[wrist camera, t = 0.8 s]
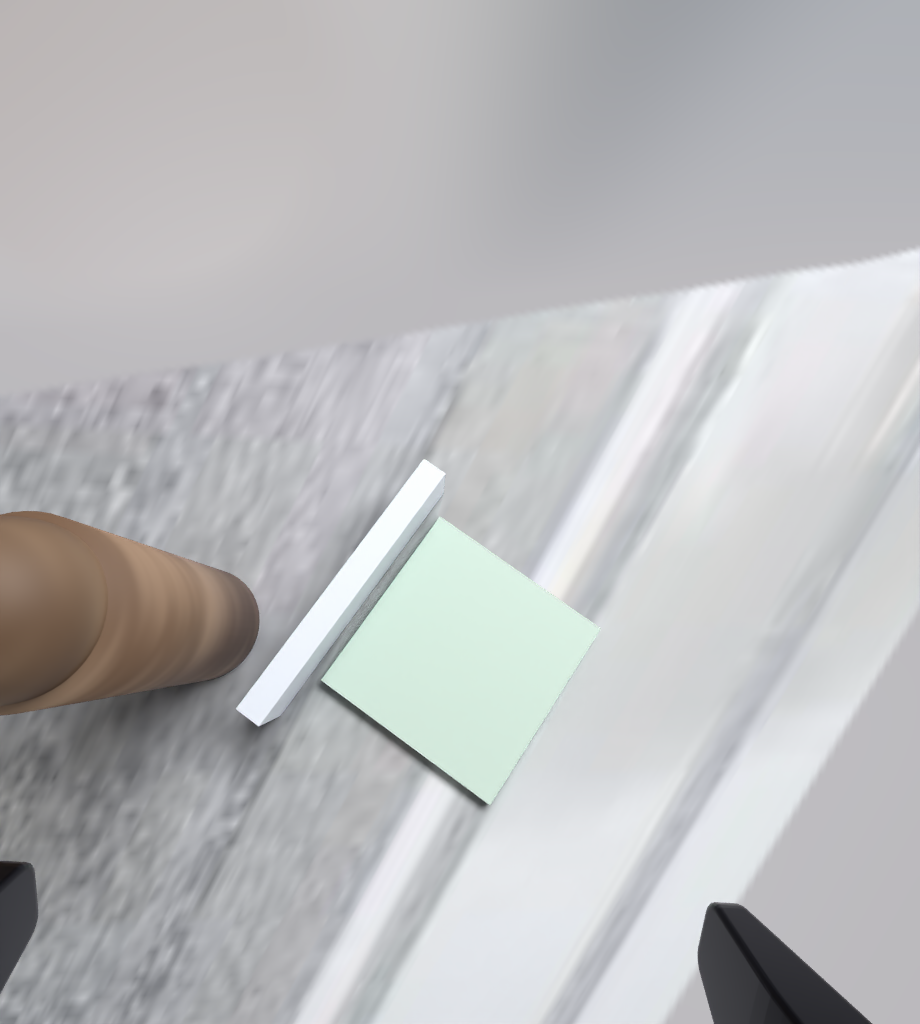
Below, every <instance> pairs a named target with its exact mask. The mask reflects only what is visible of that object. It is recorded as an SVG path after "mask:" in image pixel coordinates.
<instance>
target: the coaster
mask: <svg viewBox="0 0 920 1024" xmlns="http://www.w3.org/2000/svg"><path fill="white" fill-rule="evenodd" d="M600 629H601V628H599V627H598V626H596V625H595V624H593V623H592V622H591V621H589V620H588V619H586V618H585V617H583V616H582V615H581V614H579V613H578V612H576V611H575V610H573V609H572V608H571V607H569V606H568V605H566V604H565V603H563V602H562V601H560V600H559V599H558V598H556V597H555V596H553V595H552V594H550V593H549V592H548V591H546V590H545V589H543V588H542V587H540V586H539V585H538V584H536V583H535V582H533V581H532V580H530V579H529V578H527V577H526V576H525V575H523V574H522V573H520V572H519V571H517V570H516V569H515V568H513V567H512V566H510V565H509V564H507V563H506V562H505V561H503V560H502V559H500V558H499V557H497V556H496V555H494V554H493V553H492V552H490V551H489V550H487V549H486V548H484V547H483V546H482V545H480V544H479V543H477V542H476V541H474V540H473V539H472V538H470V537H469V536H467V535H466V534H464V533H463V532H461V531H460V530H459V529H457V528H456V527H454V526H453V525H451V524H450V523H449V522H447V521H446V520H444V519H443V518H441V517H439V518H438V520H437V521H436V523H435V524H434V525H433V527H432V528H431V529H430V531H429V532H428V534H427V535H426V536H425V538H424V539H423V540H422V542H421V543H420V545H419V546H418V547H417V549H416V550H415V551H414V553H413V554H412V556H411V557H410V558H409V560H408V561H407V562H406V564H405V565H404V567H403V568H402V569H401V571H400V572H399V573H398V575H397V576H396V578H395V579H394V580H393V582H392V583H391V584H390V586H389V587H388V589H387V590H386V591H385V593H384V594H383V595H382V597H381V598H380V600H379V601H378V602H377V604H376V605H375V607H374V608H373V609H372V611H371V612H370V613H369V615H368V616H367V618H366V619H365V620H364V622H363V623H362V624H361V626H360V627H359V629H358V630H357V631H356V633H355V634H354V635H353V637H352V638H351V640H350V641H349V642H348V644H347V645H346V646H345V648H344V649H343V651H342V652H341V653H340V655H339V656H338V657H337V659H336V660H335V662H334V663H333V664H332V666H331V667H330V668H329V670H328V671H327V673H326V674H325V675H324V677H323V678H322V679H321V681H323V682H324V683H325V684H327V685H328V686H330V687H331V688H332V689H334V690H335V691H336V692H338V693H339V694H340V695H342V696H343V697H344V698H346V699H347V700H348V701H350V702H351V703H352V704H354V705H355V706H357V707H358V708H359V709H361V710H362V711H363V712H365V713H366V714H367V715H369V716H370V717H371V718H373V719H374V720H375V721H377V722H378V723H379V724H381V725H382V726H384V727H385V728H386V729H388V730H389V731H390V732H392V733H393V734H394V735H396V736H397V737H398V738H400V739H401V740H402V741H404V742H405V743H406V744H408V745H409V746H411V747H412V748H413V749H415V750H416V751H417V752H419V753H420V754H421V755H423V756H424V757H425V758H427V759H428V760H429V761H431V762H432V763H433V764H435V765H436V766H438V767H439V768H440V769H442V770H443V771H444V772H446V773H447V774H448V775H450V776H451V777H452V778H454V779H455V780H456V781H458V782H459V783H460V784H462V785H463V786H465V787H466V788H467V789H469V790H470V791H471V792H473V793H474V794H475V795H477V796H478V797H479V798H481V799H482V800H483V801H485V802H486V803H487V804H489V805H491V803H492V802H493V800H494V798H495V797H496V795H497V794H498V792H499V790H500V789H501V787H502V786H503V784H504V782H505V781H506V779H507V778H508V776H509V775H510V773H511V771H512V770H513V768H514V767H515V765H516V763H517V762H518V760H519V759H520V757H521V755H522V754H523V752H524V751H525V749H526V747H527V746H528V744H529V743H530V741H531V739H532V738H533V736H534V735H535V733H536V731H537V730H538V728H539V727H540V725H541V724H542V722H543V720H544V719H545V717H546V716H547V714H548V712H549V711H550V709H551V708H552V706H553V704H554V703H555V701H556V700H557V698H558V696H559V695H560V693H561V692H562V690H563V688H564V687H565V685H566V684H567V682H568V680H569V679H570V677H571V676H572V674H573V672H574V671H575V669H576V668H577V666H578V665H579V663H580V661H581V660H582V658H583V657H584V655H585V653H586V652H587V650H588V649H589V647H590V645H591V644H592V642H593V641H594V639H595V637H596V636H597V634H598V633H599V631H600Z"/></svg>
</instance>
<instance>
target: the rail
mask: <svg viewBox="0 0 920 1024" xmlns="http://www.w3.org/2000/svg"><path fill="white" fill-rule="evenodd" d="M444 485H445V473H444V472H442V471H441V470H439V469H438V468H437V467H435V466H434V465H432V464H431V463H429V462H428V461H426V460H425V459H424V460H423V461H422V462H421V464H420V465H419V466H418V467H417V469H416V470H415V471H414V473H413V474H412V475H411V477H410V478H409V479H408V481H407V482H406V483H405V485H404V486H403V487H402V489H401V490H400V491H399V493H398V494H397V495H396V497H395V498H394V499H393V501H392V502H391V503H390V505H389V506H388V507H387V509H386V510H385V511H384V513H383V514H382V515H381V517H380V518H379V519H378V521H377V522H376V523H375V525H374V526H373V527H372V529H371V530H370V531H369V533H368V534H367V535H366V537H365V538H364V539H363V541H362V542H361V543H360V545H359V546H358V547H357V549H356V550H355V551H354V553H353V554H352V555H351V557H350V558H349V559H348V561H347V562H346V563H345V564H344V566H343V567H342V568H341V570H340V571H339V572H338V574H337V575H336V576H335V578H334V579H333V580H332V582H331V583H330V584H329V586H328V587H327V588H326V590H325V591H324V592H323V594H322V595H321V596H320V598H319V599H318V600H317V602H316V603H315V604H314V606H313V607H312V608H311V610H310V611H309V612H308V614H307V615H306V616H305V618H304V619H303V620H302V622H301V623H300V624H299V626H298V627H297V628H296V630H295V631H294V632H293V634H292V635H291V636H290V638H289V639H288V640H287V642H286V643H285V644H284V646H283V647H282V648H281V650H280V651H279V652H278V654H277V655H276V656H275V658H274V659H273V660H272V661H271V663H270V664H269V665H268V667H267V668H266V669H265V671H264V672H263V673H262V675H261V676H260V677H259V679H258V680H257V681H256V683H255V684H254V685H253V687H252V688H251V689H250V691H249V692H248V693H247V695H246V696H245V697H244V699H243V700H242V701H241V703H240V704H239V705H238V707H237V708H236V710H238V711H239V712H240V713H242V714H243V715H244V716H246V717H247V718H248V719H250V720H251V721H252V722H254V723H255V724H256V725H257V726H261V725H263V724H265V723H267V722H269V721H271V720H273V719H275V718H277V717H279V716H281V715H282V713H283V712H284V711H285V709H286V708H287V706H288V705H289V704H290V702H291V701H292V700H293V698H294V697H295V696H296V694H297V693H298V691H299V690H300V689H301V687H302V686H303V685H304V683H305V682H306V681H307V679H308V678H309V676H310V675H311V674H312V672H313V671H314V670H315V668H316V667H317V666H318V664H319V663H320V661H321V660H322V659H323V657H324V656H325V655H326V653H327V652H328V650H329V649H330V648H331V646H332V645H333V644H334V642H335V641H336V640H337V638H338V637H339V635H340V634H341V633H342V631H343V630H344V629H345V627H346V626H347V625H348V623H349V622H350V620H351V619H352V618H353V616H354V615H355V614H356V612H357V611H358V610H359V608H360V607H361V605H362V604H363V603H364V601H365V600H366V599H367V597H368V596H369V595H370V593H371V592H372V590H373V589H374V588H375V586H376V585H377V584H378V582H379V581H380V580H381V578H382V577H383V575H384V574H385V573H386V571H387V570H388V569H389V567H390V566H391V565H392V563H393V562H394V560H395V559H396V558H397V556H398V555H399V554H400V552H401V551H402V549H403V548H404V547H405V545H406V544H407V543H408V541H409V540H410V539H411V537H412V536H413V534H414V533H415V532H416V530H417V529H418V528H419V526H420V525H421V524H422V522H423V521H424V519H425V518H426V517H427V515H428V514H429V513H430V511H431V510H432V509H433V507H434V506H435V504H436V503H437V502H438V500H439V499H440V498H441V496H442V495H443V494H444Z"/></svg>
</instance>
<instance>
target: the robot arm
mask: <svg viewBox="0 0 920 1024" xmlns="http://www.w3.org/2000/svg"><path fill="white" fill-rule="evenodd" d="M37 919H38V903H37V891H36V880H35V871H34V868H33V866H32V865H31V864H30V863H27V862H12V861H0V993H1V991H2V990H3V988H4V986H5V984H6V982H7V980H8V979H9V977H10V975H11V973H12V971H13V969H14V968H15V966H16V964H17V962H18V960H19V958H20V957H21V955H22V953H23V951H24V949H25V947H26V945H27V944H28V942H29V940H30V938H31V936H32V934H33V932H34V929H35V927H36V923H37ZM698 965H699V971H700V975H701V978H702V982H703V986H704V989H705V992H706V996H707V1000H708V1004H709V1007H710V1011H711V1015H712V1018H713V1022H714V1024H872V1023H871V1022H870V1021H869V1020H867V1018H865V1017H864V1016H863V1015H862V1014H861V1013H860V1012H859V1011H858V1010H857V1009H856V1008H854V1007H853V1006H852V1005H851V1004H850V1003H849V1002H848V1001H847V1000H846V999H844V997H842V996H841V995H840V994H839V993H838V992H837V991H836V990H835V989H834V988H833V987H831V986H830V985H829V984H828V983H827V982H826V981H825V980H824V979H823V978H821V977H820V976H819V975H818V974H817V973H816V972H815V971H814V970H813V969H812V968H811V967H810V966H808V965H807V964H806V963H805V962H804V961H803V960H802V959H800V957H798V956H797V955H796V954H795V953H794V952H793V951H792V950H791V949H790V948H789V947H787V946H786V945H785V944H784V943H783V942H782V941H781V940H780V939H779V938H778V937H777V936H775V935H774V934H773V933H772V932H771V931H770V930H769V929H768V928H767V927H766V926H764V925H763V924H762V923H761V922H760V921H759V920H758V919H757V918H756V917H755V916H754V915H753V914H751V913H750V912H749V911H748V910H747V909H746V908H744V907H743V906H741V905H739V904H735V903H719V902H714V903H711V904H710V905H709V906H708V908H707V911H706V914H705V919H704V924H703V928H702V933H701V937H700V942H699V946H698Z"/></svg>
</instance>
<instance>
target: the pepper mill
mask: <svg viewBox="0 0 920 1024" xmlns="http://www.w3.org/2000/svg"><path fill="white" fill-rule="evenodd" d="M258 630H259V610H258V606H257V603H256V600H255V598H254V596H253V594H252V592H251V591H250V589H249V588H248V587H247V586H246V585H245V583H243V582H242V581H241V580H240V579H238V578H237V577H235V576H234V575H232V574H230V573H227V572H224V571H221V570H218V569H216V568H213V567H210V566H207V565H204V564H201V563H198V562H195V561H192V560H189V559H186V558H183V557H180V556H177V555H174V554H171V553H168V552H165V551H162V550H159V549H156V548H153V547H150V546H147V545H144V544H141V543H138V542H135V541H132V540H129V539H126V538H123V537H120V536H117V535H115V534H112V533H109V532H106V531H103V530H100V529H97V528H94V527H91V526H88V525H85V524H82V523H79V522H76V521H73V520H70V519H67V518H64V517H61V516H57V515H54V514H51V513H44V512H37V511H21V512H11V513H6V514H2V515H0V715H10V714H18V713H24V712H29V711H35V710H41V709H46V708H52V707H58V706H63V705H69V704H75V703H80V702H86V701H92V700H98V699H103V698H109V697H115V696H120V695H126V694H132V693H137V692H143V691H149V690H154V689H160V688H166V687H172V686H177V685H183V684H189V683H194V682H200V681H206V680H210V679H215V678H218V677H220V676H223V675H225V674H227V673H228V672H230V671H232V670H233V669H234V668H236V667H237V666H238V665H239V664H240V663H241V662H242V661H243V660H244V659H245V658H246V657H247V655H248V654H249V652H250V651H251V649H252V647H253V645H254V643H255V641H256V638H257V634H258Z"/></svg>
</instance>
